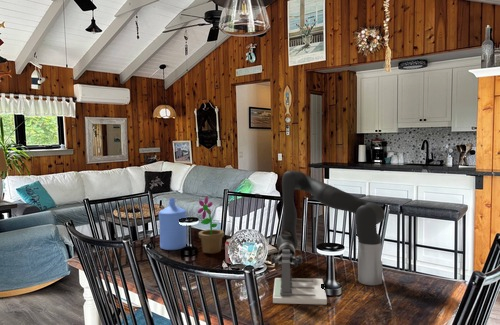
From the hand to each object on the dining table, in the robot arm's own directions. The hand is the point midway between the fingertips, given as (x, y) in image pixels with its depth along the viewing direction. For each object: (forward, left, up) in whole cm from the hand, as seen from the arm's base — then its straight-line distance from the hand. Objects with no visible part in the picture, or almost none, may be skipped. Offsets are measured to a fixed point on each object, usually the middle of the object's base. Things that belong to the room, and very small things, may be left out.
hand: (286, 265), depth 155 cm
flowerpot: (+42, -49, -10) cm, 65 cm away
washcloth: (+15, -50, -10) cm, 53 cm away
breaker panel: (-5, +5, -10) cm, 12 cm away
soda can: (+27, -28, -10) cm, 40 cm away
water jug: (+66, -56, -10) cm, 87 cm away
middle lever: (0, +5, -7) cm, 8 cm away
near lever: (0, +12, -7) cm, 14 cm away
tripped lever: (0, -2, -7) cm, 7 cm away
